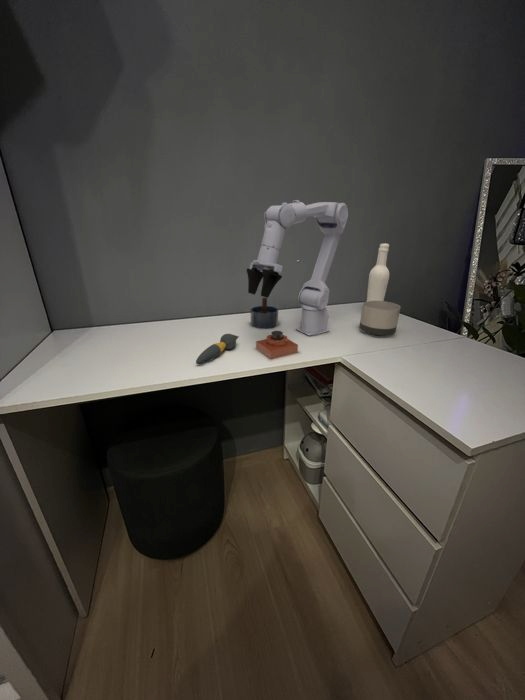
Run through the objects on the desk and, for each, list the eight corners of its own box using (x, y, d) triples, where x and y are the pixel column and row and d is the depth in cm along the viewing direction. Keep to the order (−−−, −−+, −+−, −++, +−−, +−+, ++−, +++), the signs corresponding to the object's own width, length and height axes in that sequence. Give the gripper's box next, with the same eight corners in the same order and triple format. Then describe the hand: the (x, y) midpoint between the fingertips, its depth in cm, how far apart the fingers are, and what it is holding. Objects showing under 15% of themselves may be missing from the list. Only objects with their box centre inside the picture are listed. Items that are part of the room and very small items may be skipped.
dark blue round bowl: (268, 318, 126) (269, 304, 123) (283, 325, 117) (283, 311, 115) (246, 322, 121) (245, 308, 118) (259, 330, 112) (259, 315, 110)
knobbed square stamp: (281, 343, 101) (282, 330, 99) (297, 352, 94) (298, 339, 92) (255, 348, 96) (255, 335, 94) (270, 359, 89) (270, 345, 87)
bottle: (359, 313, 134) (370, 242, 121) (377, 313, 134) (389, 242, 122) (367, 319, 126) (379, 244, 114) (385, 318, 127) (399, 244, 115)
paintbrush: (207, 369, 83) (206, 353, 81) (193, 365, 85) (191, 349, 83) (242, 344, 99) (241, 330, 97) (229, 342, 101) (228, 328, 99)
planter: (372, 324, 120) (376, 299, 115) (402, 333, 110) (408, 306, 106) (351, 330, 113) (355, 303, 109) (381, 341, 103) (386, 312, 99)
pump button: (278, 335, 96) (278, 329, 95) (284, 339, 93) (285, 333, 92) (268, 337, 94) (269, 331, 93) (275, 341, 91) (275, 335, 90)
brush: (266, 319, 122) (267, 295, 118) (274, 323, 118) (274, 299, 114) (254, 321, 120) (254, 297, 116) (261, 325, 115) (262, 300, 111)
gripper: (246, 244, 89) (235, 289, 91) (272, 243, 77) (258, 294, 79) (265, 252, 93) (254, 294, 95) (293, 252, 81) (279, 301, 83)
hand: (257, 295), depth 88 cm, fingers open, 7 cm apart
